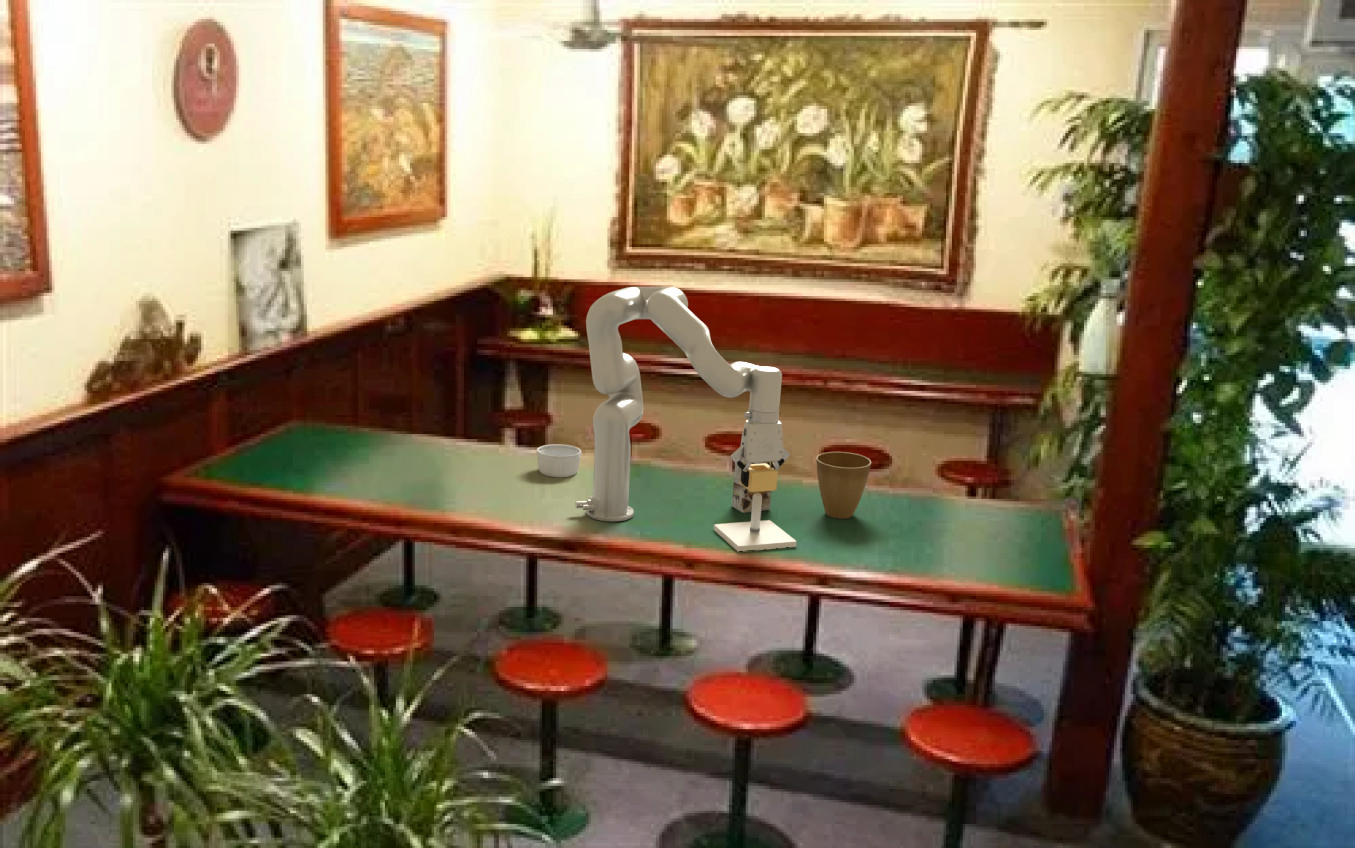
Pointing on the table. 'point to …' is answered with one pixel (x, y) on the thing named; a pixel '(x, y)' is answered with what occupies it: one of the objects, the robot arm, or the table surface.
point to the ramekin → (558, 460)
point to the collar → (761, 478)
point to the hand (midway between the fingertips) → (758, 483)
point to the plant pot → (841, 481)
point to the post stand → (754, 532)
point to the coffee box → (747, 493)
